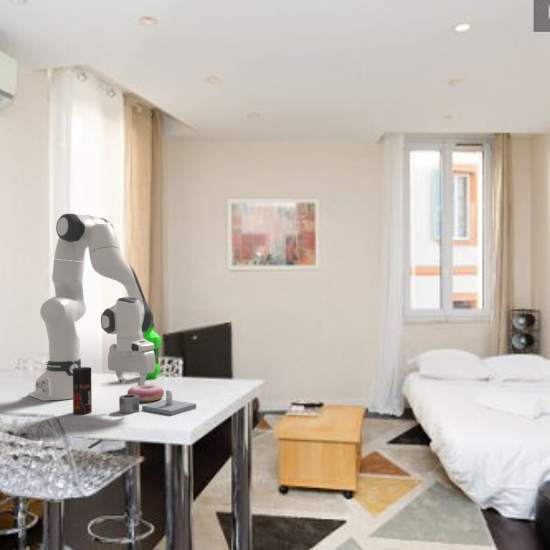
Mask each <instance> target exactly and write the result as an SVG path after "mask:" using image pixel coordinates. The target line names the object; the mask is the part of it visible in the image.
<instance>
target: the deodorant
mask: <svg viewBox="0 0 550 550" xmlns="http://www.w3.org/2000/svg"><path fill="white" fill-rule="evenodd" d="M92 400H93V399H92V367H89V366H81V367H79V368H74V369H73V398H72V414H73V415H78V416H83V415H89V414H91V413H92V408H93V407H92V406H93V405H92V404H93V403H92Z"/></svg>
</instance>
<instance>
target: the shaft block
mask: <svg viewBox="0 0 550 550" xmlns="http://www.w3.org/2000/svg"><path fill="white" fill-rule="evenodd" d="M194 409H197V403H193V402H187V401H182V400H181V401H180V400H173V389H166V390H165V399H163V400H158V401H155V402H153V403H148V404H144V405H141V410H142V411H144V410H146V411H145V412H149V411H151V412H150V413H155V412H157V413H156V414H160V413H162V414H161V415H166V414H167V416H175V415H177V414H181V412H182V413H185V412H188V411H191V410H194Z"/></svg>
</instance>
